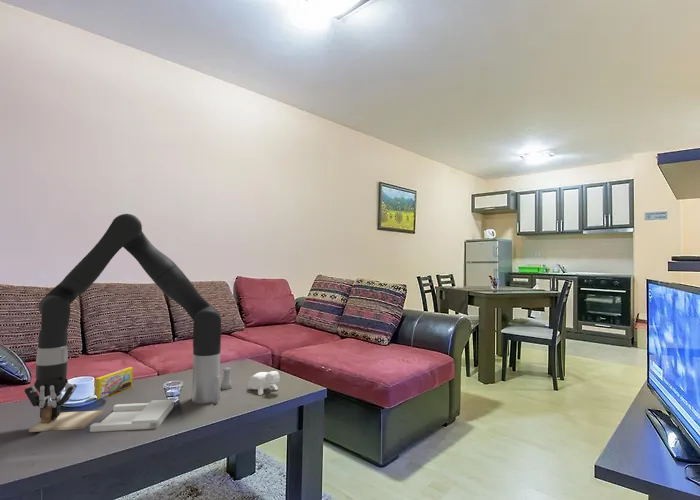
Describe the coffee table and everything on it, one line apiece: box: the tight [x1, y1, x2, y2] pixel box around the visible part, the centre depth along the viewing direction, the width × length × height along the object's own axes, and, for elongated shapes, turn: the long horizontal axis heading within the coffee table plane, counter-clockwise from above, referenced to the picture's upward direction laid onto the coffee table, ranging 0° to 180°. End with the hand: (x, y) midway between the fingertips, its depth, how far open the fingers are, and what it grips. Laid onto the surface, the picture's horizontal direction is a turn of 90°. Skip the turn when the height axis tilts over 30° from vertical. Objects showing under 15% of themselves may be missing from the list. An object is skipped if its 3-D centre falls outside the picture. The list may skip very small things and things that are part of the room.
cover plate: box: [28, 403, 103, 433], centre depth 116 cm, size 14×12×5 cm
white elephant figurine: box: [247, 370, 281, 396], centre depth 149 cm, size 9×8×15 cm
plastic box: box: [89, 399, 175, 433], centre depth 119 cm, size 18×17×3 cm
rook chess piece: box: [220, 366, 233, 390], centre depth 153 cm, size 4×4×8 cm
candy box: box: [93, 366, 134, 400], centre depth 143 cm, size 16×2×8 cm, turn 168°
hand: (49, 418), depth 115 cm, fingers closed on cover plate
